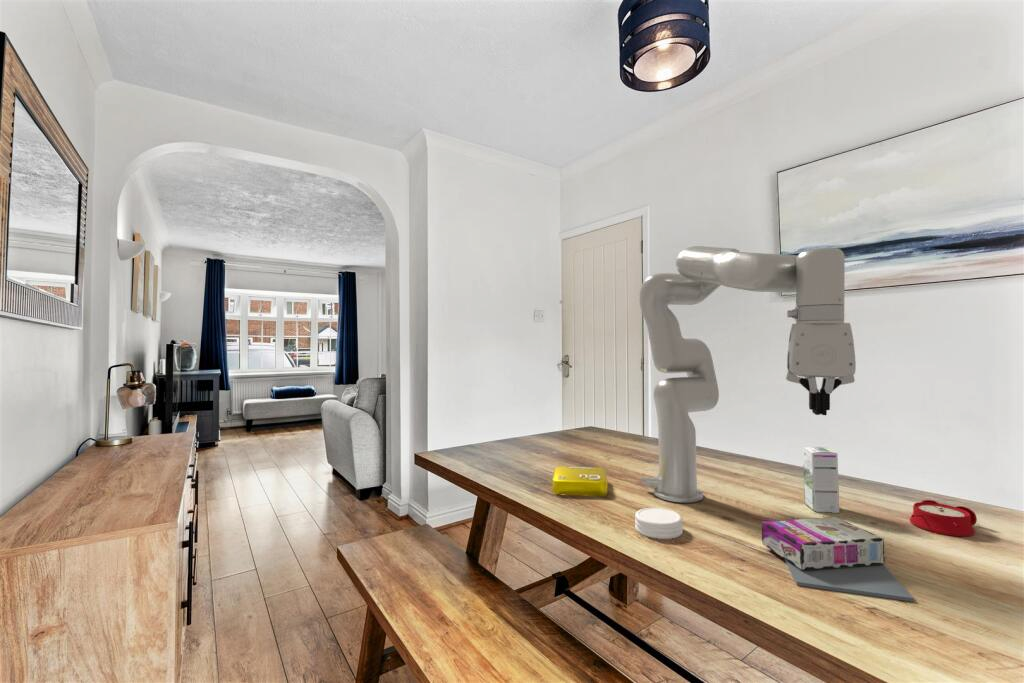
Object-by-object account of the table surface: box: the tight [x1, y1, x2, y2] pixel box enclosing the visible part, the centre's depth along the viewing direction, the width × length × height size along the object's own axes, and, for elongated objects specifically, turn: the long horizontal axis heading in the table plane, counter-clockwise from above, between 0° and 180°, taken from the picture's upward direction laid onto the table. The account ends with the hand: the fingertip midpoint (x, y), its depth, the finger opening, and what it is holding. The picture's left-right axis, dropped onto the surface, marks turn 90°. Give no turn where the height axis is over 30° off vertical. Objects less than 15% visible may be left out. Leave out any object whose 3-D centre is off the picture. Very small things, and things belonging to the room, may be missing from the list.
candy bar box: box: [761, 516, 886, 570], centre depth 87 cm, size 11×5×16 cm
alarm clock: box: [909, 499, 978, 537], centre depth 102 cm, size 10×6×15 cm
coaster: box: [634, 507, 684, 540], centre depth 102 cm, size 10×10×4 cm
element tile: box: [551, 466, 608, 497], centre depth 132 cm, size 15×15×5 cm
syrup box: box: [802, 446, 840, 514], centre depth 113 cm, size 6×6×14 cm
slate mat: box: [784, 559, 915, 603], centre depth 83 cm, size 16×16×1 cm
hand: (819, 413), depth 86 cm, fingers closed
